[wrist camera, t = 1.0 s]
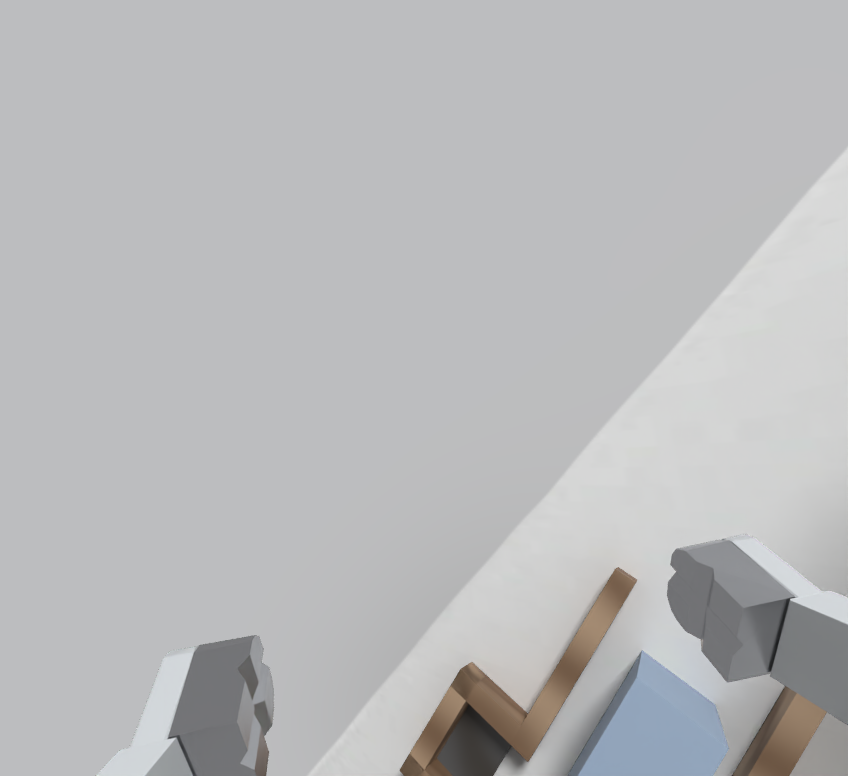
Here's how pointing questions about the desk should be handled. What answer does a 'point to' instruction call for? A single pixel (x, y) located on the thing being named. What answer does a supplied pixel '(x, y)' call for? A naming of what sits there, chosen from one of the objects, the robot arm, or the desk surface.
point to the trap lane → (511, 726)
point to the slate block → (654, 729)
